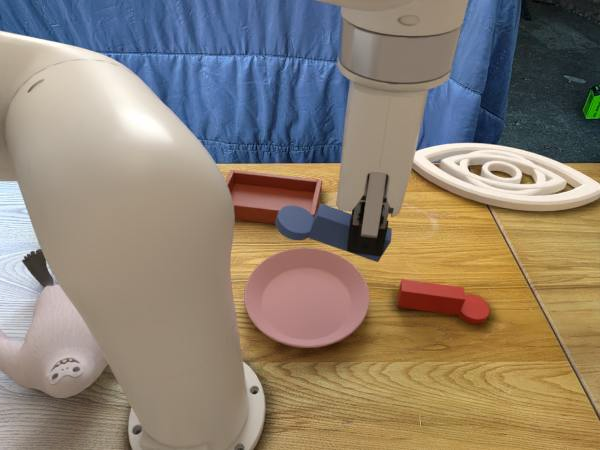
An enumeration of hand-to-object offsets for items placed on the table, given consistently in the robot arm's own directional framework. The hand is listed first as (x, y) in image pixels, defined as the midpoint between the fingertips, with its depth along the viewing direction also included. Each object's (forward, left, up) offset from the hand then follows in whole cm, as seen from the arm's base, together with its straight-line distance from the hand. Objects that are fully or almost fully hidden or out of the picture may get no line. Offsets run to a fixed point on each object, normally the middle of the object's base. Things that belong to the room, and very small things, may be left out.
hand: (365, 243), depth 41 cm
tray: (+19, +14, -13) cm, 26 cm away
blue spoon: (0, +4, 0) cm, 4 cm away
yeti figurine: (+1, +37, -10) cm, 38 cm away
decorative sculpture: (+33, -6, -11) cm, 35 cm away
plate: (+2, +6, -13) cm, 14 cm away
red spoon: (+4, -10, -13) cm, 17 cm away
